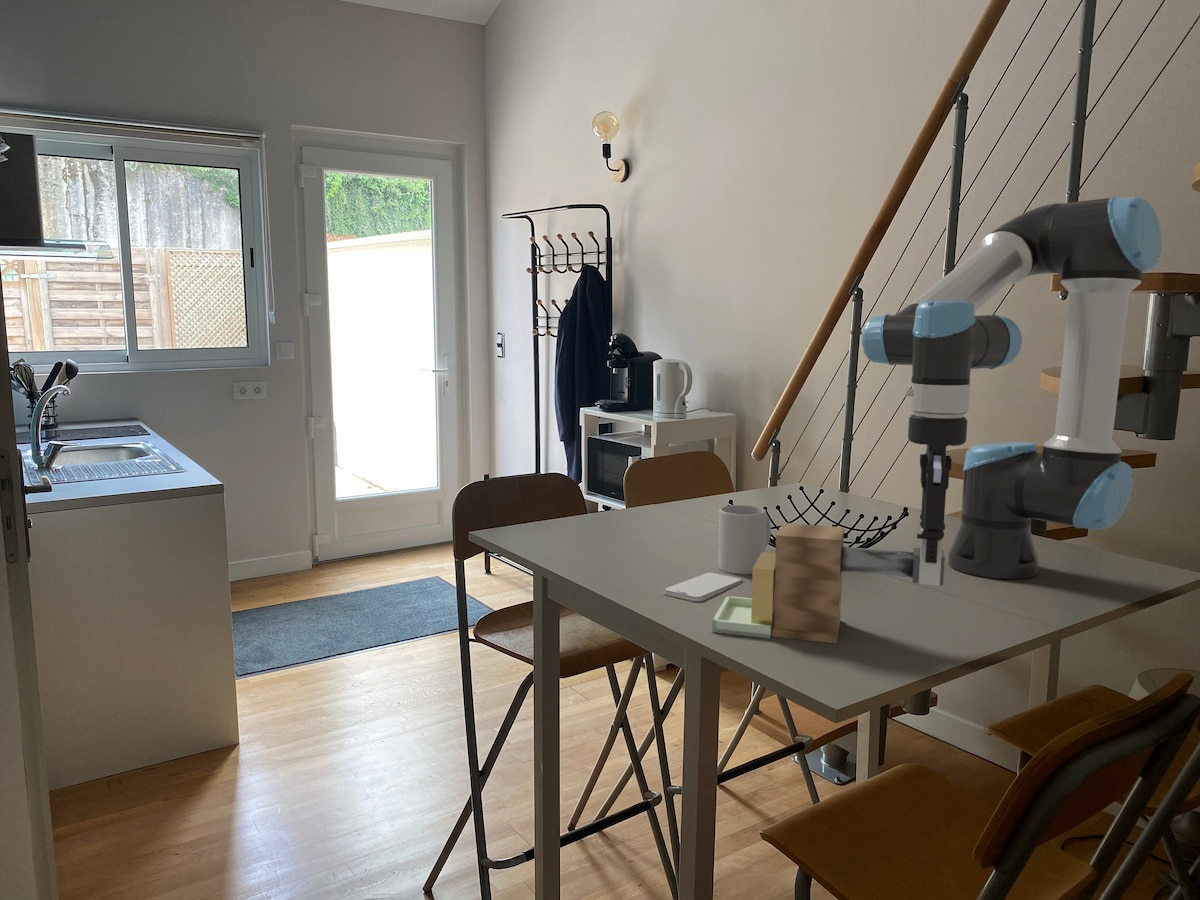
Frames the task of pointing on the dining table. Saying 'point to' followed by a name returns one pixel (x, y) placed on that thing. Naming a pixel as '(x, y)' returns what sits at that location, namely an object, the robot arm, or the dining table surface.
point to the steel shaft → (884, 562)
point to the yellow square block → (763, 590)
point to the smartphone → (702, 587)
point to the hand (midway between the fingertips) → (928, 578)
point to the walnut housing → (808, 582)
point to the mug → (742, 537)
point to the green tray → (738, 619)
